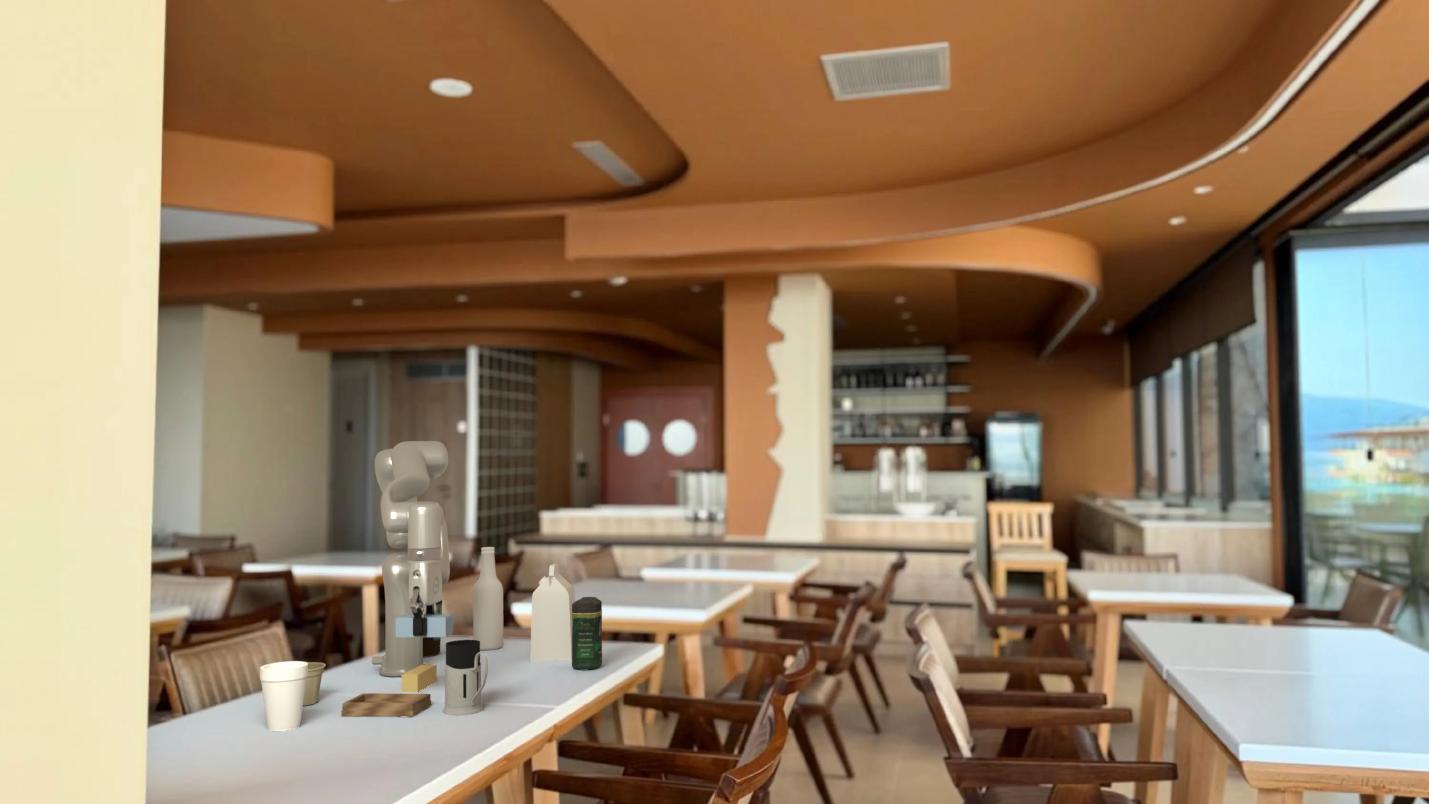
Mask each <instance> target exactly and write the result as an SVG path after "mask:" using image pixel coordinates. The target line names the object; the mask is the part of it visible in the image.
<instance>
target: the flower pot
mask: <svg viewBox="0 0 1429 804" xmlns="http://www.w3.org/2000/svg"><path fill="white" fill-rule="evenodd" d="M307 663H308V676H307V677H306V685H305V692H304V699H303V705H308V706H312V705H311V704H313V705H316V702H317V703H318V702H319V697H320V690H321V689H320V688H321V682H322V677H323V673H324V670H325V667H326V665H327V664H326V663H324V662H314V661H313V662H307Z"/></svg>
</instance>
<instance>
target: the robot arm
mask: <svg viewBox="0 0 1429 804" xmlns="http://www.w3.org/2000/svg"><path fill="white" fill-rule="evenodd" d="M448 464H449V453H448V449H447V447H446V446H445V444H444V443H442V442H441V441H437V440H427V441H426V440H409V441H408V440H406V441H402V442H399V443H397V444H396V445H394V446H393V448H386V449H383V450H381V451H379V452H378V453H377V454H376V456H375V458H374V471H375V473H374V474H375V478H376V481H377V484H378V486H379V489H380V491H381V494H382V495H381V498H380V513H381V520H382V525H383V528H384V530H385V534H386V541H387V544H388V546H389V547H391V548H392V549H396V550H398V549H401V550H402V549H403V550H405V549H407V551H406V552H396V553H392V554H389V555H387V556H386V557H385V558H384V559H383V562H382V564H381V574H382V580H383V581H382V582H383V587H384V600H385V602H384V603H385V609H384V610H385V611H384V612H385V617H384V618H385V624H384V625H385V626H384V627H385V630H384V631H385V634H384V635H385V640H384V641H385V646H384V647H385V655H382V656H372V658H371V664H372V665H373V666H376V665H377V666H378V665H380V666H381V667H380V668H379V671H378V672H379V673H378V674H379V675H381V676H383V677H402V674H404V673H406V672H408V671H410V670H412V669H414V668H416V667H418V666H420V665H427V664H426V663H424V662H423V660H424V659H423V658H424V657H423V637H396V617H399V616H402V615H412V618H413V636H426V635H427V618H425V616H426V615H428V614H436V613H437V610H436V606H437V602H440V601H441V600H442V601H443V586H444V585H446V584H447V583H448V581H449V580H450V572H451V566H450V553H449V552H450V549H449V533H448V527H447V522H446V519H445V515H444V509H443V507H442V506H441V504H439V503H438V502H436V501H431V500H430V501H429V500H428V501H426V500H425V501H418V497H419V496H421V495H422V494H424V493H425V492H426V491H427V490H428V488H429V486H430V482H431V480H430V479H436V478H439V477H440V476H441V475H443V474H444V473H445V472H446V470H447V469H448ZM422 603H423V604H422ZM427 605H428V606H427Z"/></svg>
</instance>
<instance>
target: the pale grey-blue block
mask: <svg viewBox="0 0 1429 804" xmlns="http://www.w3.org/2000/svg"><path fill="white" fill-rule="evenodd" d="M425 618H427V635H426V636H413V618H412V615H402V616H399V617H396V637H441V638H446V637H447V638H448V637H450V636H451V635H453V634H454V614H452V613H451V614H443V613H442V614H428V615H426V616H425Z"/></svg>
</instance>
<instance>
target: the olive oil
mask: <svg viewBox="0 0 1429 804" xmlns="http://www.w3.org/2000/svg"><path fill="white" fill-rule="evenodd" d="M422 604H423V603H422ZM427 606H428V605H427ZM436 610H437V613H436V614H443V599H442V600H441V601H440V602H437V606H436ZM441 638H442V637H423V658H425V657H427V658H428V657H432V656H437V655H439V654H441V642H442V641H441Z"/></svg>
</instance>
